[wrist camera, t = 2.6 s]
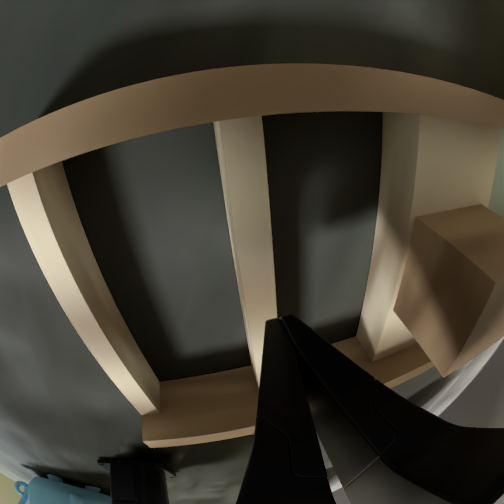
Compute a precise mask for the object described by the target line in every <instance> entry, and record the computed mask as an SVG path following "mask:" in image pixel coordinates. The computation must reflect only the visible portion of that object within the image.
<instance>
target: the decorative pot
mask: <svg viewBox="0 0 504 504" xmlns="http://www.w3.org/2000/svg"><path fill="white" fill-rule="evenodd" d="M47 476H48V478H49V479H47V478H43V477H35V478H34V479H33V480H32V481H31V482H30V483H29V484H26V483H25V482H22V481H17V482H16V483H15V490H16V491H17V493H19V494H20V495H23V496H22V498H21V499H20V501H19V503H18V504H25V503H26V502H27V500H28V501H29V504H112V501H111V497H110V496H108V495H105V494H101V493H99V492H100V490H101V489H100V488H97V487H93V486H85V488H84V489H83V488H80V487H76V486H72V485H69V484H65V483H63V479H62V478H59V477H57V476H54V475H50V474H47ZM20 486H23V487H24V489H25V491H24V492H21V491H20V490H19V487H20Z"/></svg>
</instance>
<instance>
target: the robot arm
mask: <svg viewBox="0 0 504 504" xmlns="http://www.w3.org/2000/svg"><path fill="white" fill-rule="evenodd" d="M256 416H257V417H256V422H255V431H254V438H253V444H252V449H251V453H250V457H249V461H248V465H247V469H246V472H245V476H244V479H243V482H242V486H241V489H240V492H239V495H238V499H237V502H236V504H336V502H335V500H334V498H333V495H332V492H331V489H330V485H329V481H328V479H327V473H326V469H325V465H324V461H323V457H322V453H321V449H320V445H319V441H318V437H317V434H318V436H319V438H320V440H321V442H322V444H323V447H324V449H325V451H326V453H327V455H328V457H329V459H330V461H331V463H332V465H333V468H334V470H335V472H336V474H337V476H338V478H339V480H340V482H341V484H342V486H343V488H344V490H345V492H346V494H347V496H348V499H349V501H350V503H351V504H504V428H475V427H463V426H458V425H455V424H452V423H449V422H447V421H445V420H443V419H441V418H439V417H437V416H436V415H434V414H432V413H430V412H428V411H426V410H424V409H423V408H421V407H419V406H417V405H415V404H414V403H412V402H410V401H409V400H407V399H405V398H404V397H402V396H400V395H399V394H397V393H396V392H394V391H393V390H391V389H390V388H389V387H387V386H386V385H384V384H383V383H382V382H380V381H379V380H378V379H375V377H374V376H372V375H371V374H370V373H368V372H367V371H366V370H364V369H363V368H362V367H360V366H359V365H358V364H356V363H355V362H354V361H353V360H351V359H350V358H349V357H347V356H346V355H345V354H343V353H342V352H341V351H339V350H338V349H337V348H336V347H334V346H333V345H332V344H330V343H329V342H328V341H326V340H325V339H324V338H323V337H321V336H320V335H319V334H317V333H316V332H315V331H314V330H312V329H311V328H310V327H308V326H307V325H306V324H305V323H303V322H302V321H301V320H300V319H298V318H297V317H296V316H294V315H293V314H289V315H285V316H281V317H280V318H273V319H269V320H266V322H265V331H264V342H263V353H262V364H261V374H260V385H259V395H258V404H257V414H256ZM316 432H317V433H316ZM97 464H98V465H100V466H102V467H104V468H105V469H107V470H109V471H110V491H111V501H112V504H169V499H168V491H167V483H166V479H170V478H176V474H175V473H174V472H172V471H171V470H169V469H168V468H166V467H165V466H163V465H162V464H161V463H159V462H158V461H156V460H100V459H99V460H97Z"/></svg>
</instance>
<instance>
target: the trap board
mask: <svg viewBox="0 0 504 504" xmlns="http://www.w3.org/2000/svg"><path fill="white" fill-rule="evenodd" d="M326 111H369V112H383V133H382V161H381V178H380V191H379V202H378V212H377V221H376V229H375V237H374V244H373V251H372V258H371V264H370V270H369V276H368V282H367V287H366V293H365V298H364V303H363V308H362V312H361V317H360V322H359V326H358V330H357V335H356V336H354V337H351V338H348V339H345V340H342V341H339V342H336V343H333V344H332V345H333V346H334V347H336V348H337V349H338V350H339V351H341V352H342V353H343V354H345V355H346V356H347V357H349V358H350V359H351V360H353V361H354V362H355V363H356V364H358V365H359V366H360V367H362V368H363V369H364V370H366V371H367V372H368V373H370V374H371V375H372V376H374V377H375V379H378V380H379V381H380V382H382V383H383V384H384V385H386V386H387V387H389V388H392V387H394V386H397V385H399V384H401V383H403V382H405V381H407V380H409V379H411V378H413V377H415V376H417V375H419V374H421V373H423V372H425V371H426V370H428V369H430V368H432V367H434V366H435V365H434V364H433V363H432V361H431V360H430V358H429V357H428V356H427V354H426V353H425V352H424V350H423V349H422V348H421V346H420V345H419V343H418V342H417V341H416V339H415V338H414V337H413V335H412V334H411V333H410V332H409V330H408V329H407V328H406V326H405V325H404V324H403V322H402V321H401V320H400V319H399V317H398V316H397V315H396V313H395V312H394V311H393V309H394V305H395V302H396V299H397V295H398V291H399V288H400V284H401V280H402V276H403V272H404V268H405V264H406V259H407V255H408V250H409V246H410V241H411V236H412V230H413V225H414V219H415V217H417V216H422V215H427V214H432V213H437V212H442V211H448V210H453V209H458V208H463V207H468V206H473V205H479V204H482V205H484V206H485V207H487V208H488V209H490V210H492V211H493V212H495V213H496V214H498V215H499V216H501V217H502V218H504V100H503V99H500V98H497V97H495V96H492V95H489V94H486V93H483V92H480V91H477V90H474V89H471V88H468V87H464V86H461V85H457V84H454V83H450V82H446V81H442V80H438V79H434V78H429V77H425V76H420V75H415V74H410V73H404V72H399V71H392V70H386V69H378V68H370V67H361V66H350V65H336V64H312V63H285V64H260V65H246V66H235V67H225V68H217V69H209V70H202V71H196V72H190V73H184V74H179V75H174V76H169V77H164V78H159V79H155V80H150V81H146V82H142V83H138V84H134V85H131V86H127V87H123V88H120V89H116V90H113V91H110V92H107V93H103V94H100V95H97V96H94V97H91V98H88V99H86V100H83V101H80V102H77V103H75V104H72V105H70V106H67V107H64V108H62V109H60V110H57V111H55V112H52V113H50V114H48V115H45V116H43V117H41V118H39V119H37V120H34V121H32V122H30V123H28V124H26V125H24V126H22V127H20V128H18V129H16V130H14V131H12V132H11V133H9V134H7V135H5V136H3V137H1V138H0V187H1V186H3V185H5V184H7V185H8V189H9V192H10V195H11V198H12V201H13V203H14V206H15V209H16V212H17V214H18V217H19V220H20V222H21V225H22V227H23V230H24V232H25V235H26V237H27V239H28V242H29V244H30V246H31V248H32V251H33V253H34V255H35V257H36V259H37V261H38V263H39V265H40V267H41V269H42V271H43V273H44V275H45V277H46V279H47V281H48V283H49V285H50V287H51V289H52V290H53V292H54V294H55V296H56V298H57V299H58V301H59V303H60V305H61V306H62V308H63V310H64V311H65V313H66V315H67V316H68V318H69V320H70V321H71V323H72V324H73V326H74V328H75V329H76V331H77V332H78V334H79V335H80V337H81V338H82V340H83V341H84V343H85V344H86V346H87V347H88V349H89V350H90V351H91V353H92V354H93V356H94V357H95V358H96V360H97V361H98V363H99V364H100V365H101V367H102V368H103V369H104V371H105V372H106V373H107V374H108V376H109V377H110V378H111V380H112V381H113V382H114V383H115V385H116V386H117V387H118V388H119V389H120V391H121V392H122V393H123V394H124V395H125V397H126V398H127V399H128V400H129V401H130V402H131V404H132V405H133V406H134V407H135V408H136V409H137V410H138V412H139V413H140V414H141V415H142V441H143V442H144V443H145V444H146V445H148V446H149V447H150V448H157V447H170V446H181V445H190V444H198V443H206V442H212V441H219V440H225V439H230V438H236V437H241V436H246V435H251V434H254V431H255V422H256V417H257V416H256V414H257V404H258V395H259V385H260V374H261V364H262V353H263V342H264V331H265V322H266V320H269V319H273V318H277V306H276V290H275V274H274V259H273V245H272V231H271V218H270V205H269V192H268V180H267V168H266V157H265V145H264V134H263V124H262V116H263V115H274V114H286V113H302V112H326ZM210 122H213V123H214V130H215V138H216V145H217V152H218V159H219V166H220V173H221V180H222V187H223V193H224V200H225V207H226V213H227V220H228V226H229V233H230V239H231V245H232V252H233V258H234V264H235V270H236V277H237V283H238V289H239V295H240V301H241V307H242V313H243V318H244V324H245V330H246V336H247V341H248V347H249V353H250V358H251V364H252V365H251V366H246V367H242V368H237V369H232V370H227V371H222V372H217V373H212V374H206V375H201V376H195V377H189V378H182V379H176V380H169V381H161V382H159V380H158V379H157V377H156V375H155V374H154V372H153V371H152V369H151V367H150V366H149V364H148V362H147V361H146V359H145V357H144V356H143V354H142V352H141V351H140V349H139V347H138V345H137V343H136V342H135V340H134V338H133V336H132V334H131V333H130V331H129V329H128V327H127V325H126V323H125V321H124V319H123V318H122V316H121V314H120V312H119V310H118V308H117V306H116V304H115V302H114V300H113V297H112V295H111V293H110V291H109V289H108V287H107V285H106V283H105V280H104V278H103V276H102V274H101V271H100V269H99V267H98V264H97V262H96V260H95V257H94V255H93V252H92V250H91V247H90V245H89V242H88V240H87V237H86V235H85V232H84V229H83V227H82V224H81V221H80V218H79V215H78V213H77V210H76V207H75V204H74V201H73V198H72V194H71V191H70V188H69V185H68V181H67V178H66V174H65V171H64V167H63V164H62V161H63V160H66V159H68V158H71V157H74V156H77V155H80V154H83V153H86V152H89V151H92V150H95V149H99V148H102V147H105V146H109V145H112V144H116V143H119V142H123V141H126V140H130V139H134V138H138V137H142V136H146V135H150V134H154V133H159V132H163V131H168V130H172V129H177V128H182V127H187V126H193V125H198V124H204V123H210Z"/></svg>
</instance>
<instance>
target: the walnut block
mask: <svg viewBox="0 0 504 504" xmlns="http://www.w3.org/2000/svg"><path fill="white" fill-rule="evenodd" d="M393 311H394V312H395V313H396V315H397V316H398V317H399V319H400V320H401V321H402V322H403V324H404V325H405V326H406V328H407V329H408V330H409V332H410V333H411V334H412V335H413V337H414V338H415V339H416V341H417V342H418V343H419V345H420V346H421V348H422V349H423V350H424V352H425V353H426V354H427V356H428V357H429V358H430V360H431V361H432V363H433V364H434V365H435V367H436V368H437V370H438V371H439V372H440V374H441V375H442V377H443V378H444V377H446V376H447V375H449V374H450V373H452V372H454V371H455V370H457V369H458V368H460V367H461V366H463V365H464V364H466V363H467V362H469V361H470V360H472V359H473V358H475V357H476V356H478V355H479V354H480V353H482V352H483V351H485V350H486V349H487V348H489V347H490V346H491V345H493V344H494V343H495V342H496V341H498V340H499V339H500V338H502V337H503V336H504V218H502V217H501V216H499V215H498V214H496V213H495V212H493V211H492V210H490V209H488V208H487V207H485V206H484V205H482V204H479V205H473V206H468V207H463V208H458V209H453V210H448V211H442V212H437V213H432V214H427V215H422V216H417V217H415V219H414V225H413V230H412V236H411V241H410V246H409V250H408V255H407V259H406V264H405V268H404V272H403V276H402V280H401V284H400V288H399V291H398V295H397V299H396V302H395V305H394V309H393Z"/></svg>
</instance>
